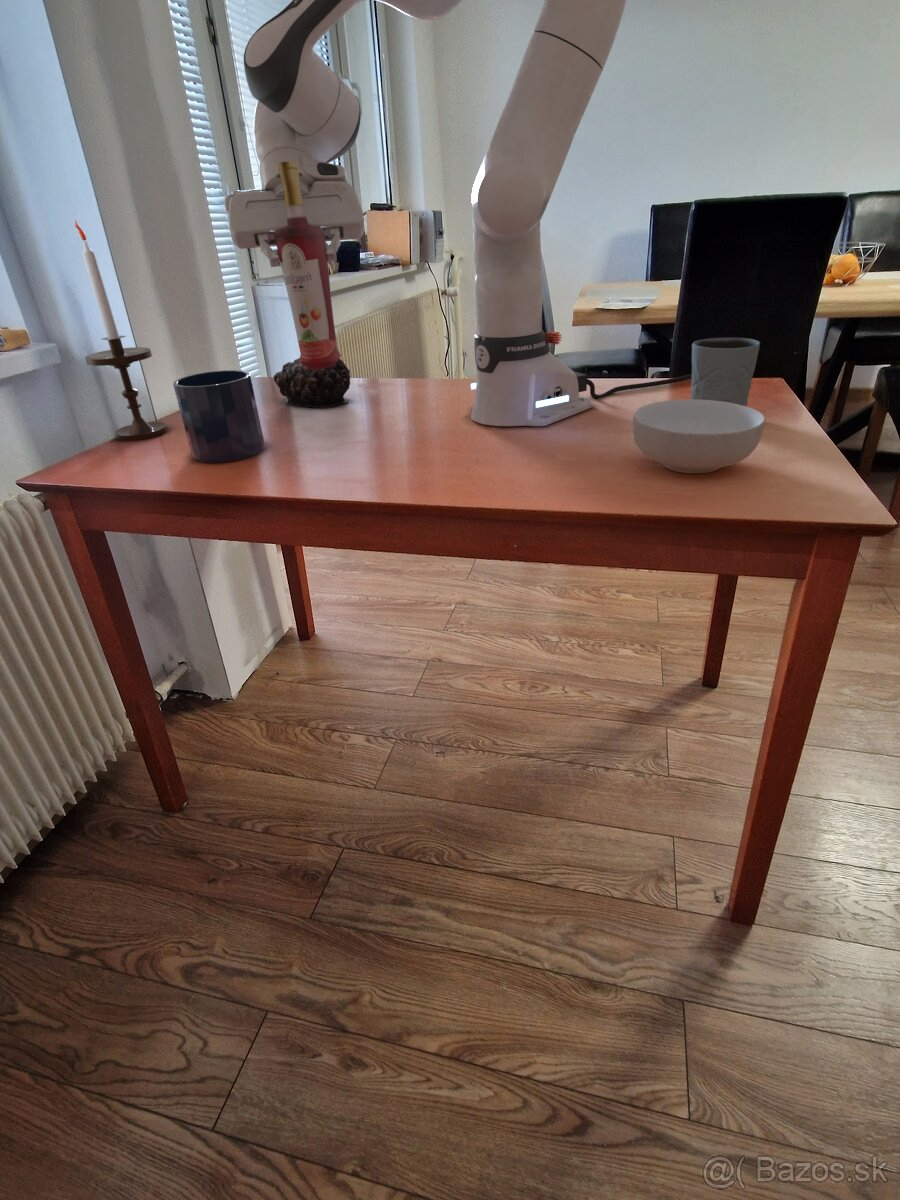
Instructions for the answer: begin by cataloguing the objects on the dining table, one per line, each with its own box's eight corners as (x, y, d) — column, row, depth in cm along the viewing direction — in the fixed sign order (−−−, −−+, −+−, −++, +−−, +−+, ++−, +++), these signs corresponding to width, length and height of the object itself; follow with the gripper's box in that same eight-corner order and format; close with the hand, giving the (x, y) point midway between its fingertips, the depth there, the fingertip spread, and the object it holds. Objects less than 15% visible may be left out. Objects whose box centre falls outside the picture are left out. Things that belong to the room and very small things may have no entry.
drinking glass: (727, 430, 105) (739, 350, 99) (671, 419, 112) (679, 344, 106) (759, 415, 111) (772, 339, 105) (704, 406, 118) (713, 334, 112)
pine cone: (289, 395, 145) (281, 347, 140) (361, 398, 139) (355, 347, 134) (261, 408, 137) (251, 357, 132) (336, 411, 131) (328, 358, 125)
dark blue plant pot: (251, 436, 119) (236, 366, 113) (275, 451, 111) (260, 377, 104) (184, 451, 114) (165, 379, 108) (204, 468, 105) (184, 390, 99)
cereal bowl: (692, 496, 84) (699, 440, 80) (605, 461, 96) (607, 412, 93) (784, 467, 90) (795, 414, 87) (691, 438, 103) (697, 392, 99)
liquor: (351, 361, 111) (322, 160, 97) (331, 371, 105) (297, 158, 91) (312, 361, 113) (278, 165, 99) (290, 371, 107) (251, 164, 93)
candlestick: (98, 439, 124) (26, 223, 106) (145, 423, 132) (85, 220, 114) (138, 444, 119) (70, 219, 101) (184, 427, 127) (128, 216, 110)
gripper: (218, 175, 99) (229, 251, 96) (354, 165, 102) (369, 239, 99) (227, 210, 106) (238, 282, 102) (356, 200, 109) (370, 270, 105)
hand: (304, 261), depth 101 cm, fingers closed on liquor, 7 cm apart
